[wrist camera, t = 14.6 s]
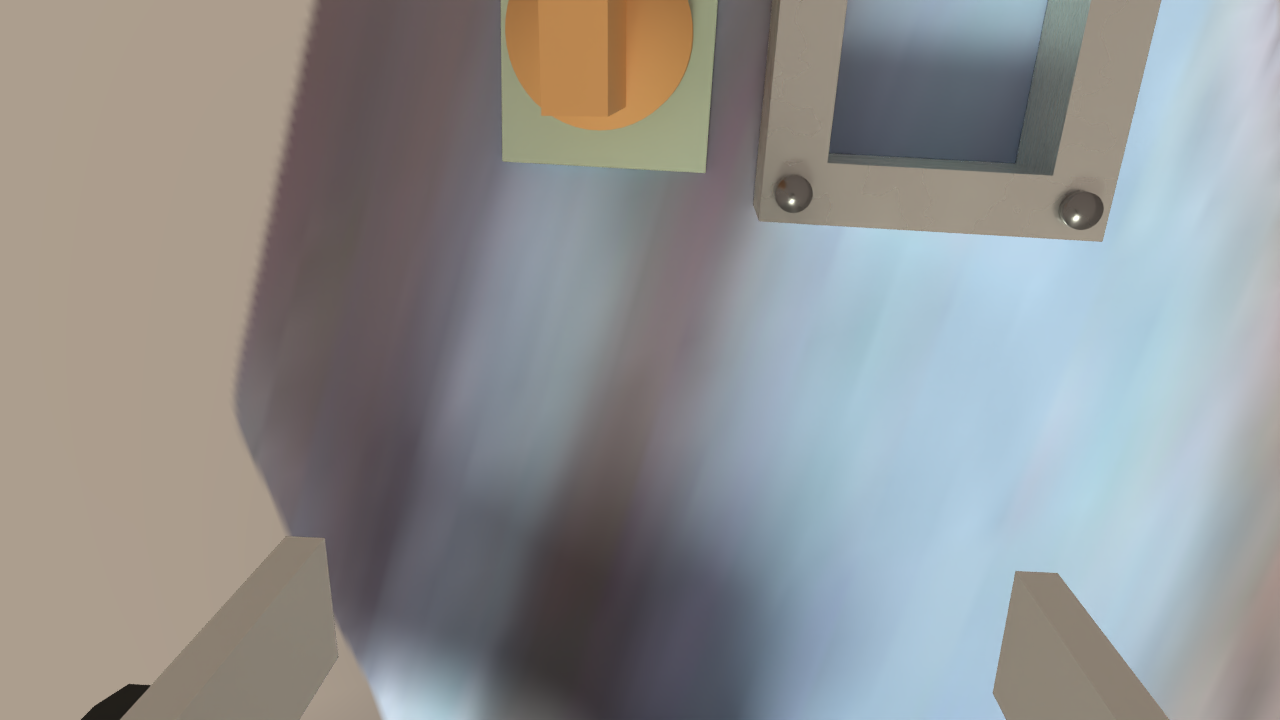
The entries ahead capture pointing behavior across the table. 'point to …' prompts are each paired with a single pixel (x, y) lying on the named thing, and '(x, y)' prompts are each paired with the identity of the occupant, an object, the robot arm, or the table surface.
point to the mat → (647, 144)
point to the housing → (953, 189)
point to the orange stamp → (599, 56)
